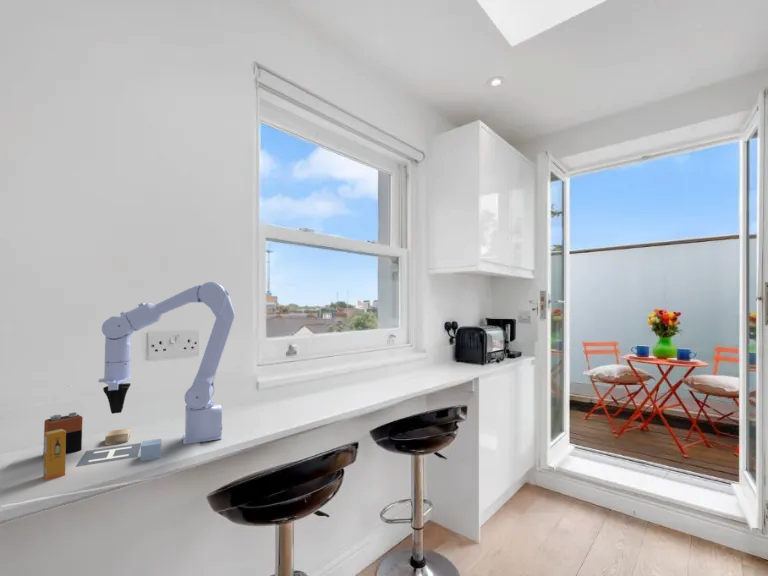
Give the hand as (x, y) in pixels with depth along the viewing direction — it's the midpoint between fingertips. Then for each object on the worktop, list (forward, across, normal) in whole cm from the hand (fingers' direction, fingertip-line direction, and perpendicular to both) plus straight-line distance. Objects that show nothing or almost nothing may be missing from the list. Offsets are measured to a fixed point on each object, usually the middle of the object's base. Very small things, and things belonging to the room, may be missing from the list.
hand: (116, 412), depth 102 cm
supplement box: (+9, +16, -9) cm, 21 cm away
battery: (+9, 0, -11) cm, 14 cm away
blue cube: (+9, +14, +9) cm, 19 cm away
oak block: (+9, -4, 0) cm, 10 cm away
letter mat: (+9, +7, 0) cm, 11 cm away
